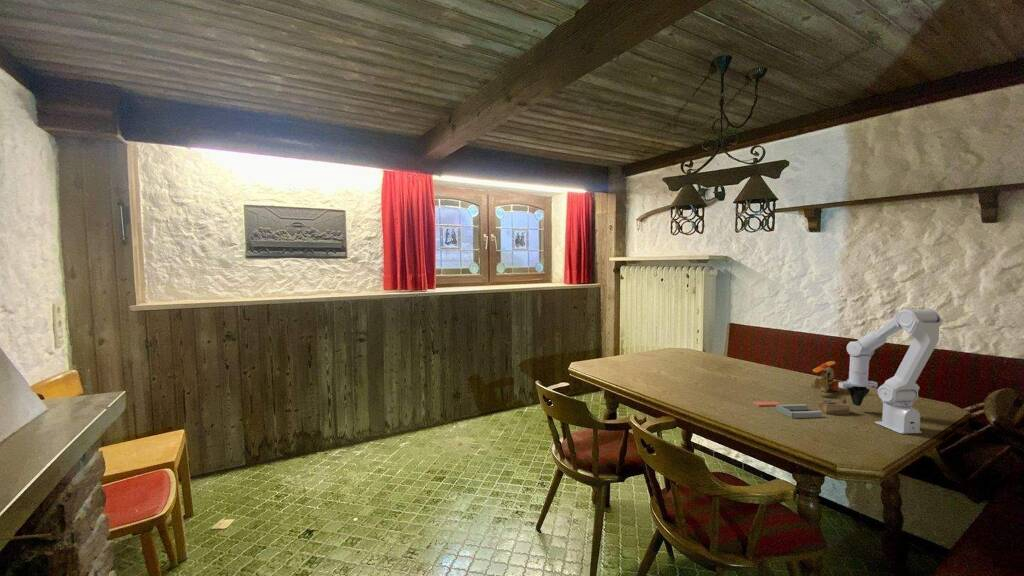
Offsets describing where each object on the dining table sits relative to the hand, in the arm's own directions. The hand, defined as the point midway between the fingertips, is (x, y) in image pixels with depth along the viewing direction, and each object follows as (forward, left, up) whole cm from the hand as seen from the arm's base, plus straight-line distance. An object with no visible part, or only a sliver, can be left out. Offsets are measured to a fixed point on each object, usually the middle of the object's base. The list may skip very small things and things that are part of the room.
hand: (856, 404), depth 159 cm
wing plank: (+10, +30, -3) cm, 31 cm away
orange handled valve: (+23, -6, -3) cm, 24 cm away
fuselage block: (0, +10, -3) cm, 10 cm away
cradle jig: (0, +24, -3) cm, 24 cm away
